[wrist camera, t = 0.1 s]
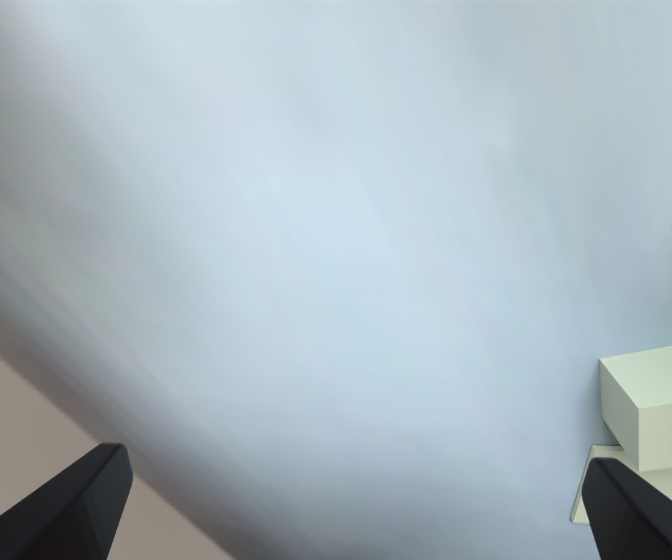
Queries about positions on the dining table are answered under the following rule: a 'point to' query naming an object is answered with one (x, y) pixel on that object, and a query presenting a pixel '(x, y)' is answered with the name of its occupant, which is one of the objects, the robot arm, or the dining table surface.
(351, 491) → the dining table surface
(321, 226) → the dining table surface
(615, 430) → the sage cube
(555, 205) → the dining table surface
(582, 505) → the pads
